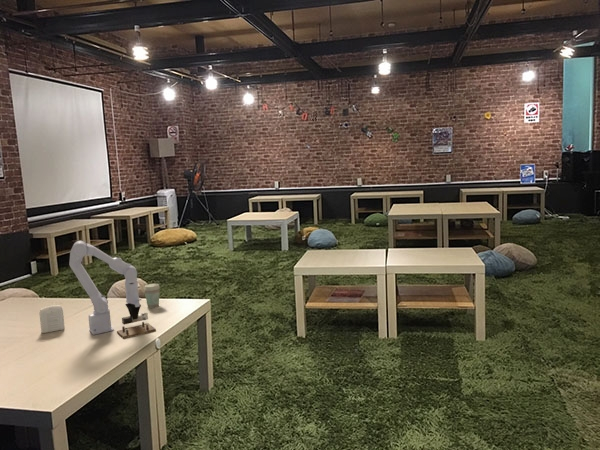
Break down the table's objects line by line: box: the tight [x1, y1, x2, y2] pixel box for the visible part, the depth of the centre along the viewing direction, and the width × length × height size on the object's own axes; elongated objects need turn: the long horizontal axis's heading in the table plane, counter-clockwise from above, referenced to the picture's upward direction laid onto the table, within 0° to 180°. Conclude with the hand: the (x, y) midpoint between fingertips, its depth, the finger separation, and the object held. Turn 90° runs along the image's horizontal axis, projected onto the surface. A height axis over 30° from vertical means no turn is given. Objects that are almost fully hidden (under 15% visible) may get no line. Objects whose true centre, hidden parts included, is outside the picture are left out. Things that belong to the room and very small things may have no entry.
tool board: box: [116, 321, 157, 339], centre depth 237 cm, size 15×10×3 cm, turn 125°
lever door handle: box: [121, 312, 149, 326], centre depth 247 cm, size 12×3×3 cm, turn 125°
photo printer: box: [38, 304, 66, 334], centre depth 244 cm, size 10×4×12 cm, turn 123°
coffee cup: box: [143, 283, 161, 309], centre depth 277 cm, size 8×8×12 cm
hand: (134, 318), depth 246 cm, fingers closed on lever door handle, 3 cm apart
